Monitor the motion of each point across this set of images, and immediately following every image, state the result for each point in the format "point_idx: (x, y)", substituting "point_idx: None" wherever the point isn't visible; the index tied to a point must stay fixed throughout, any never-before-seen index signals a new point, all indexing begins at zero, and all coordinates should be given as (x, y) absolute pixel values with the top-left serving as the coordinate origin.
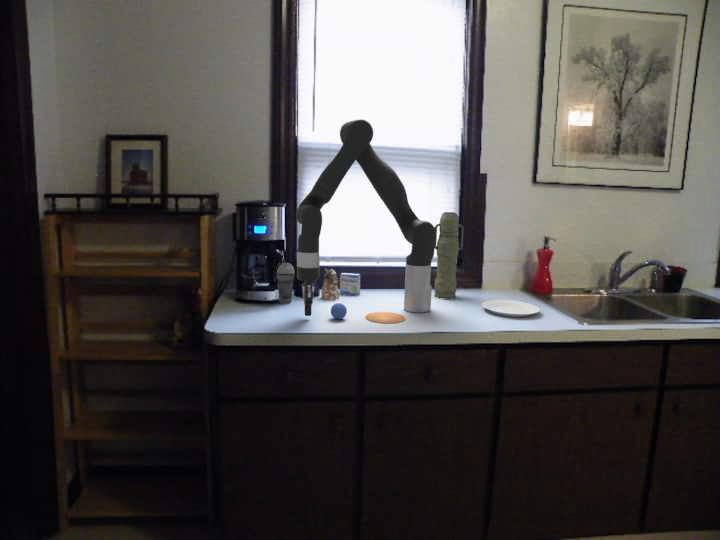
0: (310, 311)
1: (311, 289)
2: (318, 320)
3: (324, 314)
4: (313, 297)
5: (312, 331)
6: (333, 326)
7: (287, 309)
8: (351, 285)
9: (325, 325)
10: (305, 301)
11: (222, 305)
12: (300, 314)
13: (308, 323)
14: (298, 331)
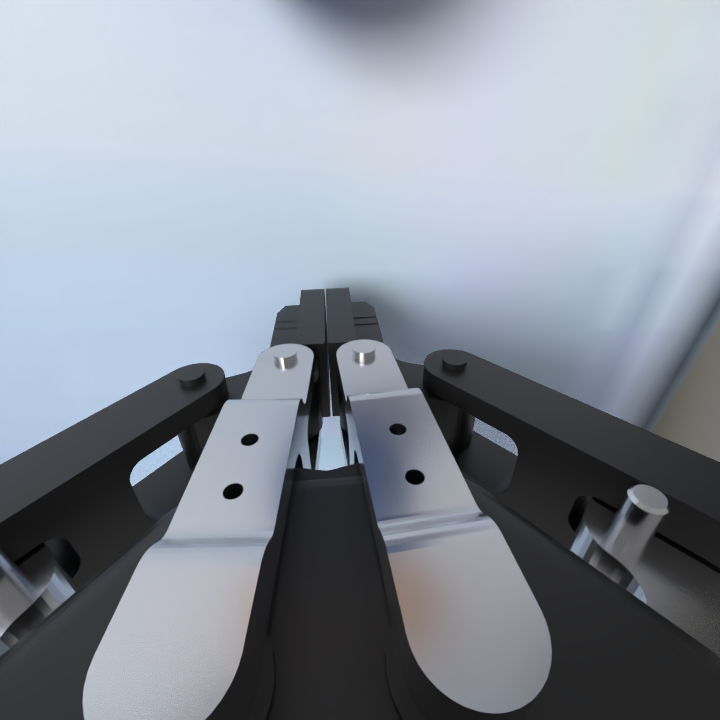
0: (352, 312)
1: (668, 619)
2: (363, 191)
3: (80, 87)
4: (419, 393)
5: (691, 266)
6: (636, 11)
7: (10, 455)
8: None
9: (564, 121)
10: (512, 467)
11: None
12: (152, 359)
13: (454, 294)
14: (639, 365)
